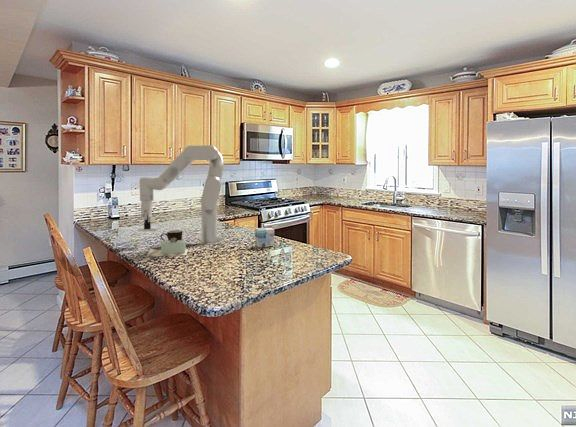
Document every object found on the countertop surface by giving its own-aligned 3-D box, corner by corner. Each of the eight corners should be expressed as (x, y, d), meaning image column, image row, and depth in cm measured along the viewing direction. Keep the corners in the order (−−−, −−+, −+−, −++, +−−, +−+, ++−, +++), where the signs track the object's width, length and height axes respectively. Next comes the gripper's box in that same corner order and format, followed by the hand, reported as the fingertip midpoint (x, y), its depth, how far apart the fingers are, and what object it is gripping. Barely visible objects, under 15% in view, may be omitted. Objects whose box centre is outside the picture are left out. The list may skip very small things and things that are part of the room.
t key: (139, 230, 214) (138, 220, 213) (156, 230, 216) (156, 220, 216) (138, 231, 212) (137, 221, 211) (156, 231, 214) (155, 220, 213)
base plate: (187, 251, 201) (187, 248, 201) (186, 257, 188) (186, 254, 187) (150, 252, 197) (150, 250, 197) (146, 259, 183) (146, 256, 183)
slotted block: (185, 250, 197) (185, 239, 196) (184, 253, 191) (184, 242, 190) (162, 251, 194) (162, 240, 193) (161, 254, 188) (161, 242, 188)
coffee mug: (185, 247, 212) (185, 230, 211) (176, 250, 204) (176, 233, 203) (169, 245, 216) (169, 229, 214) (160, 248, 208) (159, 231, 206)
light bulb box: (257, 247, 214) (257, 230, 212) (254, 245, 220) (254, 228, 218) (274, 246, 218) (274, 229, 216) (271, 244, 224) (271, 227, 222)
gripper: (142, 197, 218) (143, 226, 221) (137, 199, 203) (138, 231, 205) (155, 197, 220) (155, 226, 222) (151, 199, 205) (152, 231, 207)
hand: (147, 228), depth 214 cm, fingers closed on t key, 2 cm apart
